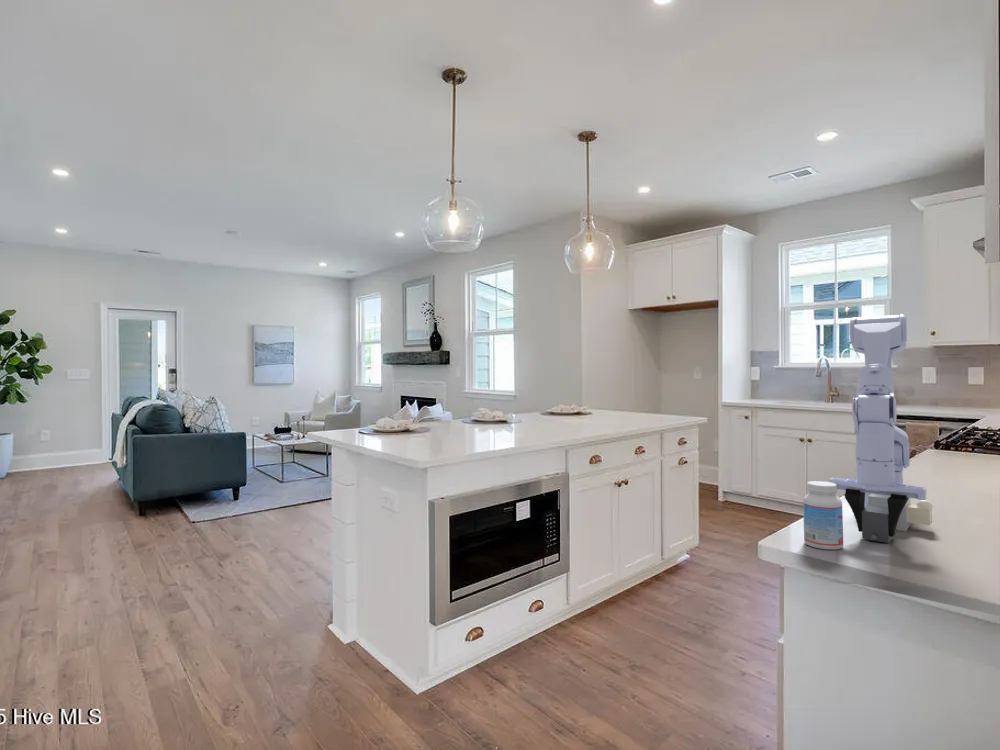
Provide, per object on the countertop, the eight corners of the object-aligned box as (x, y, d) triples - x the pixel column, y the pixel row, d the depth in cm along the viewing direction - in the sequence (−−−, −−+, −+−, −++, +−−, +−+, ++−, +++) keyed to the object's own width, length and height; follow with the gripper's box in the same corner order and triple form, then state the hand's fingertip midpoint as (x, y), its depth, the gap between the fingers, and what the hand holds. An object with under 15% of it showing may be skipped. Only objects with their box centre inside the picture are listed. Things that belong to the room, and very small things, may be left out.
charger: (870, 529, 104) (870, 502, 104) (896, 533, 101) (895, 506, 101) (860, 540, 97) (859, 512, 97) (886, 545, 95) (886, 516, 95)
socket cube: (875, 519, 112) (874, 490, 112) (910, 524, 107) (910, 494, 107) (868, 525, 107) (868, 495, 107) (906, 531, 103) (905, 500, 103)
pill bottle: (849, 551, 93) (848, 487, 93) (811, 550, 94) (809, 486, 94) (834, 540, 99) (833, 480, 99) (799, 539, 100) (797, 479, 100)
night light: (909, 518, 106) (909, 496, 106) (933, 522, 104) (933, 499, 104) (907, 522, 104) (906, 499, 104) (931, 525, 101) (931, 502, 101)
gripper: (824, 458, 100) (825, 530, 100) (921, 466, 90) (923, 546, 90) (834, 453, 105) (835, 522, 105) (927, 461, 95) (928, 536, 95)
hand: (876, 532), depth 98 cm, fingers closed on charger, 4 cm apart
